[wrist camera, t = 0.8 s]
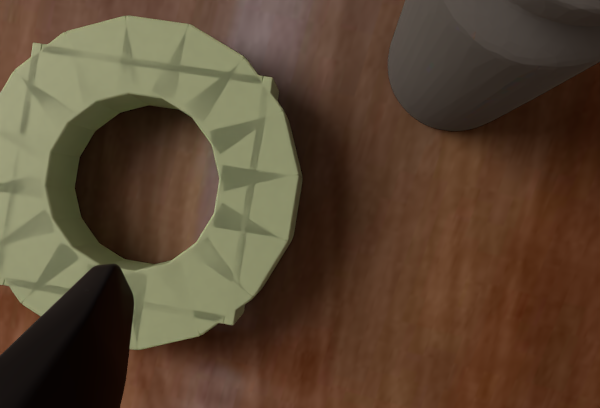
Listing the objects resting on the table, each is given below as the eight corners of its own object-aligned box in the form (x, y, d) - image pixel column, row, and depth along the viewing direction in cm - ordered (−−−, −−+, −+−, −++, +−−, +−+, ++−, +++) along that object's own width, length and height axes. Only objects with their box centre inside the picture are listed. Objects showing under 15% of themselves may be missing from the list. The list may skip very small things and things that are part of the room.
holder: (322, 59, 23) (320, 41, 21) (274, 356, 24) (267, 374, 21) (34, 18, 24) (0, -4, 22) (-12, 305, 24) (-51, 316, 22)
